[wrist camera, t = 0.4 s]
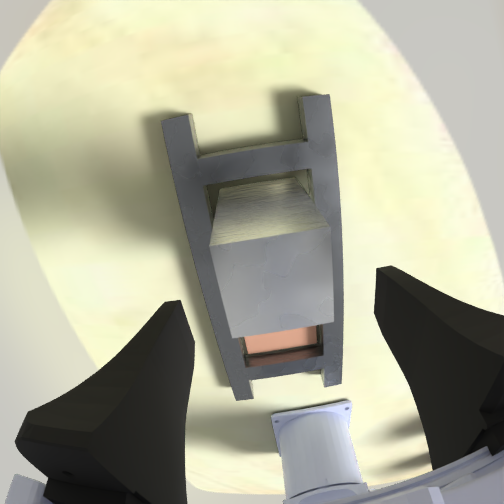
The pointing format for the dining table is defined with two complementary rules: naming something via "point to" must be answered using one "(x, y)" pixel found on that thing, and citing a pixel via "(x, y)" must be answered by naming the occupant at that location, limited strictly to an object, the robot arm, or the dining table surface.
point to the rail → (201, 222)
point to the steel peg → (272, 258)
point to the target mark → (281, 339)
